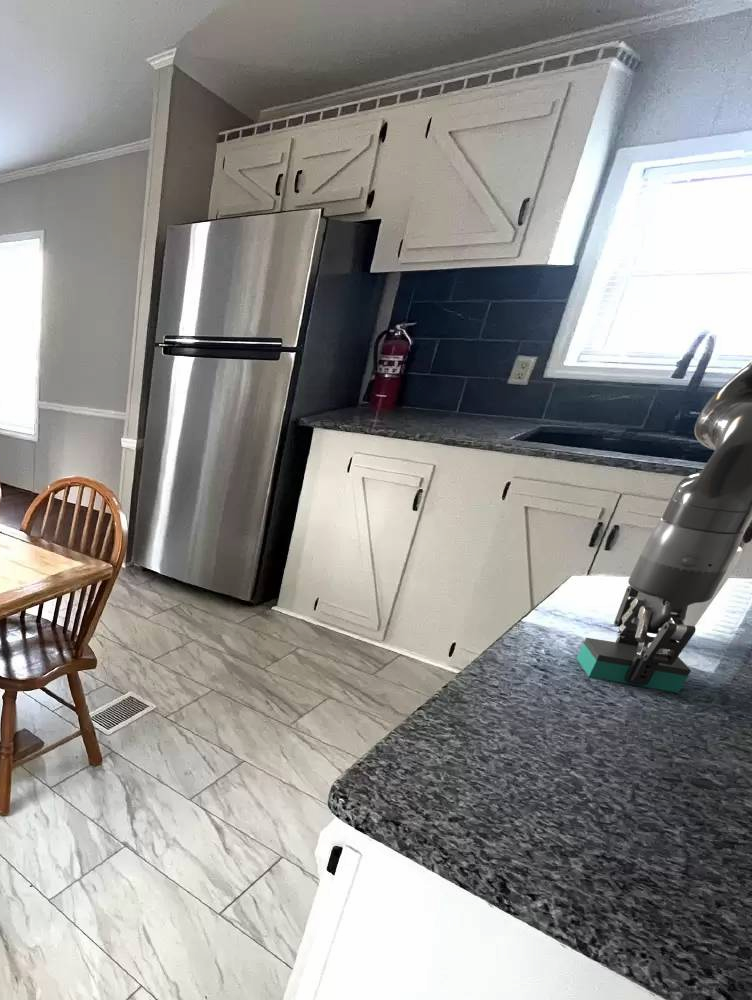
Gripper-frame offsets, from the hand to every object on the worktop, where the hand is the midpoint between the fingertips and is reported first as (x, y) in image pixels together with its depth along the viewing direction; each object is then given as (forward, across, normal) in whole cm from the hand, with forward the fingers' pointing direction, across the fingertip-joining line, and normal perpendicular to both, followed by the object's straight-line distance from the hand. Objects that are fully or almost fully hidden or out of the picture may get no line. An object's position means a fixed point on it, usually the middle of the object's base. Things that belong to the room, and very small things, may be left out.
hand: (626, 671), depth 87 cm
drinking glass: (+1, +17, -9) cm, 19 cm away
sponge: (0, 0, 0) cm, 0 cm away
